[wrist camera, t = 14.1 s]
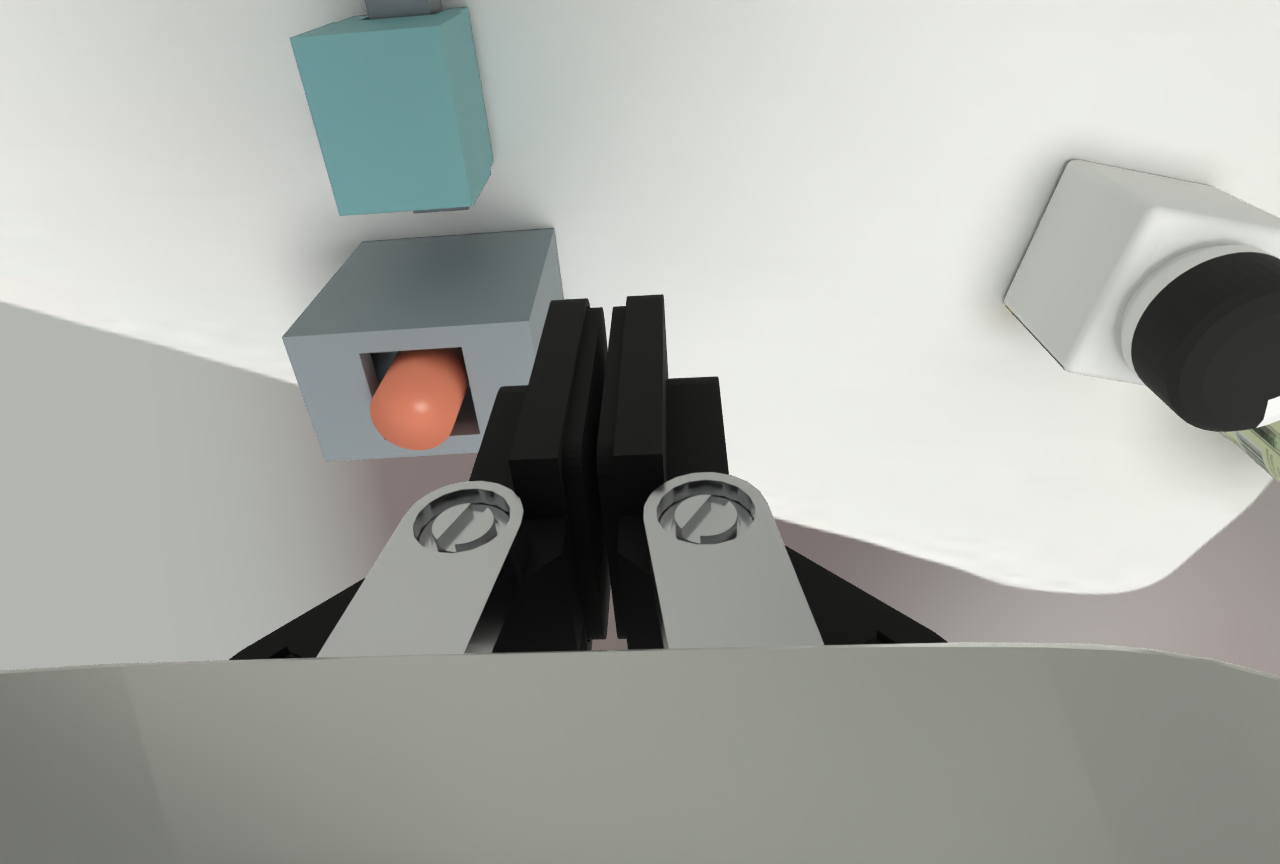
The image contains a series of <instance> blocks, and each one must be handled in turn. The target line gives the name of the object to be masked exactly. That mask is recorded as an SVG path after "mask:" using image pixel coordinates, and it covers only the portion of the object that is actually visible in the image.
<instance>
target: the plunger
mask: <svg viewBox="0 0 1280 864" xmlns="http://www.w3.org/2000/svg"><path fill="white" fill-rule="evenodd" d="M468 385H469V379H468V374H467V370H466V365H465V361H464V356H463V351H462V347H453V348H438V349H423V350H407V351H398V353H397V354H396V356H395V358H394V360H393V362H392V364H391V365H390V367H389V369H388V371H387V373H386V374H385V376H384V378H383V380H382V382H381V383H380V385H379V387H378V389H377V391H376V393H375V394H374V396H373V398H372V401H371V404H370V415H371V419H372V422H373V424H374V426H375V428H376V429H377V431H378V432H379V433H380V434H381V435H382V436H383V437H384V438H385V439H386V440H388V441H389V442H391V443H393V444H394V445H396V446H399V447H401V448H405V449H409V450H427V449H431V448H434V447H436V446H438V445H440V444H442V443H443V442H444V441H445V440H446V439H447V438H448V437H449V435H450V433H451V432H452V429H453V426H454V423H455V421H456V418H457V415H458V412H459V410H460V407H461V404H462V401H463V399H464V396H465V393H466V390H467V388H468Z"/></svg>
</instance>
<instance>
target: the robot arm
mask: <svg viewBox="0 0 1280 864" xmlns="http://www.w3.org/2000/svg"><path fill="white" fill-rule="evenodd" d="M610 586H611V589H612V598H613V605H614V614H615V622H616V629H617V637H618V638H619V639H627V644H628V650H591V649H592V640H593V639H606V636H607V626H608V613H609V600H610ZM0 864H1280V676H1278V675H1274V674H1270V673H1266V672H1262V671H1259V670H1255V669H1251V668H1247V667H1243V666H1238V665H1235V664H1231V663H1227V662H1223V661H1219V660H1216V659H1211V658H1205V657H1199V656H1192V655H1186V654H1180V653H1174V652H1167V651H1161V650H1155V649H1149V648H1136V647H1124V646H1110V645H1098V644H1078V643H1070V644H1069V643H974V642H973V643H971V642H970V643H969V642H965V643H948V642H947V641H945V640H944V639H943V638H941V637H940V636H939V635H937V634H936V633H935V632H933V631H931V630H930V629H928V628H926V627H925V626H923V625H921V624H919V623H918V622H916V621H914V620H912V619H911V618H909V617H907V616H906V615H904V614H902V613H901V612H899V611H897V610H895V609H894V608H892V607H890V606H888V605H887V604H885V603H883V602H881V601H880V600H878V599H876V598H875V597H873V596H871V595H869V594H868V593H866V592H864V591H863V590H861V589H859V588H857V587H856V586H854V585H852V584H851V583H849V582H847V581H845V580H844V579H842V578H840V577H838V576H837V575H835V574H833V573H832V572H830V571H828V570H826V569H825V568H823V567H821V566H820V565H818V564H816V563H814V562H813V561H811V560H809V559H807V558H806V557H804V556H802V555H801V554H799V553H797V552H795V551H794V550H792V549H790V548H789V547H787V546H785V545H784V543H783V541H782V538H781V535H780V533H779V530H778V528H777V525H776V523H775V521H774V518H773V515H772V513H771V511H770V508H769V506H768V503H767V501H766V500H765V498H764V497H763V495H762V494H761V492H760V491H759V490H758V489H756V488H755V487H754V486H752V485H751V484H750V483H748V482H747V481H745V480H742V479H740V478H737V477H735V476H732V475H729V471H728V462H727V453H726V443H725V434H724V425H723V415H722V406H721V397H720V387H719V379H718V377H697V378H674V379H668V365H667V347H666V329H665V311H664V296H663V295H645V296H627V301H626V306H619V307H613V312H612V320H611V329H610V337H609V346H608V349H607V339H606V330H605V320H604V312H603V308H602V307H600V308H590V304H589V301H588V299H567V300H551V302H550V304H549V308H548V312H547V316H546V320H545V323H544V327H543V331H542V335H541V338H540V342H539V346H538V350H537V354H536V357H535V361H534V365H533V369H532V372H531V376H530V380H529V384H528V385H519V386H502V387H500V388H499V390H498V393H497V395H496V399H495V402H494V405H493V408H492V411H491V414H490V417H489V420H488V424H487V427H486V430H485V433H484V436H483V439H482V442H481V445H480V449H479V452H478V455H477V458H476V461H475V464H474V467H473V470H472V474H471V477H470V480H469V481H467V482H461V483H456V484H452V485H448V486H445V487H442V488H440V489H438V490H436V491H433V492H431V493H429V494H428V495H426V496H425V497H423V498H422V499H420V500H419V501H418V502H416V503H415V504H414V505H413V506H412V507H411V509H410V510H409V511H408V512H407V513H406V514H405V516H404V517H403V519H402V520H401V522H400V524H399V525H398V527H397V528H396V530H395V532H394V533H393V535H392V536H391V538H390V540H389V541H388V543H387V544H386V546H385V548H384V549H383V551H382V553H381V554H380V556H379V557H378V559H377V560H376V562H375V564H374V566H373V567H372V569H371V570H370V572H369V573H368V575H367V577H366V578H364V579H362V580H361V581H359V582H357V583H355V584H354V585H352V586H350V587H349V588H347V589H345V590H344V591H342V592H340V593H338V594H337V595H335V596H333V597H332V598H330V599H328V600H327V601H325V602H323V603H321V604H320V605H318V606H316V607H315V608H313V609H311V610H309V611H308V612H306V613H305V614H303V615H301V616H299V617H298V618H296V619H294V620H292V621H291V622H289V623H287V624H286V625H284V626H282V627H281V628H279V629H277V630H275V631H274V632H272V633H270V634H269V635H267V636H265V637H263V638H262V639H260V640H258V641H257V642H255V643H254V644H252V645H250V646H248V647H246V648H245V649H243V650H242V651H240V652H239V653H237V654H236V655H235V656H233V657H232V658H230V659H229V660H224V661H223V660H222V661H189V662H161V663H160V662H157V663H125V664H124V663H123V664H98V665H82V666H67V667H66V666H65V667H49V668H34V669H17V670H1V671H0Z"/></svg>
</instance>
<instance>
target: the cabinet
mask: <svg viewBox="0 0 1280 864" xmlns="http://www.w3.org/2000/svg"><path fill="white" fill-rule="evenodd" d="M551 300H564V298H563V290H562V283H561V275H560V268H559V260H558V253H557V245H556V238H555V230H554V228H551V229H536V230H522V231H508V232H494V233H480V234H466V235H451V236H437V237H423V238H409V239H395V240H381V241H366V242H362V243H361V244H360V245H359V247H358V248H357V249H356V250H355V251H354V252H353V254H352V255H351V256H350V257H349V258H348V260H347V261H346V262H345V263H344V264H343V266H342V267H341V268H340V269H339V270H338V271H337V273H336V274H335V275H334V276H333V277H332V279H331V280H330V281H329V282H328V283H327V284H326V286H325V287H324V288H323V289H322V290H321V292H320V293H319V294H318V295H317V296H316V298H315V299H314V300H313V301H312V302H311V303H310V305H309V306H308V307H307V308H306V309H305V311H304V312H303V313H302V314H301V315H300V317H299V318H298V319H297V320H296V321H295V322H294V324H293V325H292V326H291V327H290V328H289V330H288V331H287V332H286V333H285V334H284V336H283V337H282V339H283V342H284V345H285V347H286V350H287V353H288V356H289V359H290V362H291V365H292V367H293V370H294V373H295V376H296V379H297V382H298V385H299V387H300V390H301V393H302V396H303V399H304V402H305V405H306V407H307V410H308V413H309V416H310V419H311V422H312V425H313V428H314V430H315V433H316V436H317V439H318V442H319V444H320V448H321V450H322V453H323V456H324V459H325V461H342V460H360V459H375V458H376V459H377V458H392V457H410V456H425V455H426V456H427V455H443V454H459V453H477V452H479V449H480V445H481V442H482V439H483V436H484V433H485V430H486V427H487V424H488V420H489V417H490V414H491V411H492V408H493V405H494V402H495V399H496V395H497V393H498V390H499V388H500V387H502V386H519V385H528V384H529V380H530V376H531V372H532V369H533V365H534V361H535V357H536V354H537V350H538V346H539V342H540V338H541V335H542V331H543V327H544V323H545V320H546V316H547V312H548V308H549V304H550V302H551ZM453 347H462V351H463V356H464V361H465V365H466V370H467V374H468V379H469V385H468V388H467V390H466V393H465V396H464V399H463V401H462V404H461V407H460V410H459V412H458V415H457V418H456V421H455V423H454V426H453V429H452V432H451V433H450V435H449V437H448V438H447V439H446V440H445V441H444V442H443V443H442V444H440V445H438V446H436V447H434V448H431V449H427V450H409V449H405V448H401V447H399V446H396V445H394V444H393V443H391V442H389V441H388V440H386V439H385V438H384V437H383V436H382V435H381V434H380V433H379V432H378V431H377V429H376V428H375V426H374V424H373V422H372V419H371V415H370V404H371V401H372V398H373V396H374V394H375V393H376V391H377V389H378V387H379V385H380V383H381V382H382V380H383V378H384V376H385V374H386V373H387V371H388V369H389V367H390V365H391V364H392V362H393V360H394V358H395V356H396V354H397V353H398V351H407V350H423V349H438V348H453Z"/></svg>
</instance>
